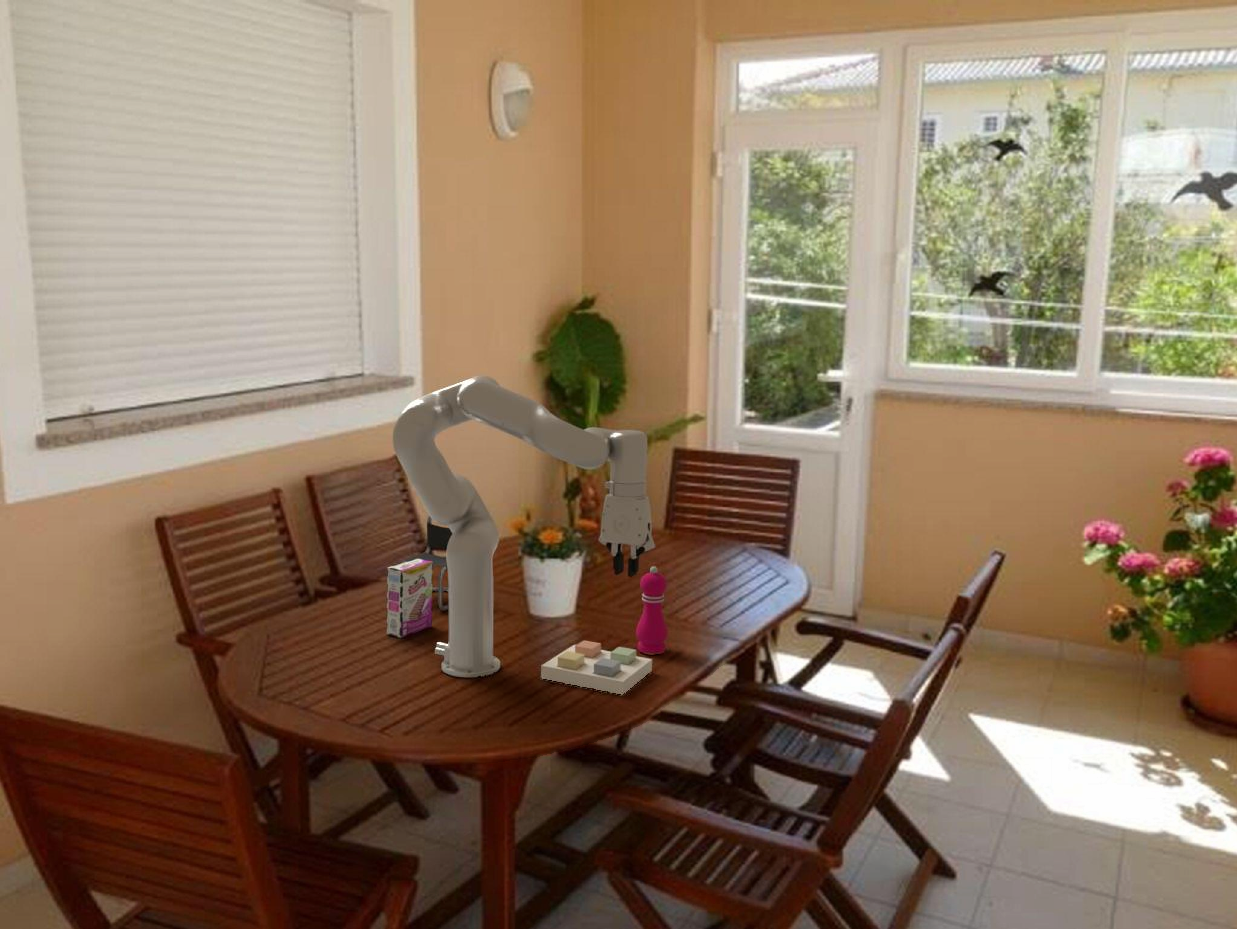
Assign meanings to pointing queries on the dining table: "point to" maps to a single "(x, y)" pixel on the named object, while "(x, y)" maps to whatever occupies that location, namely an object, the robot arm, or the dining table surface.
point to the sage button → (623, 655)
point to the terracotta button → (588, 649)
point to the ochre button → (571, 660)
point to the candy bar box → (409, 597)
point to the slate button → (607, 667)
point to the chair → (439, 540)
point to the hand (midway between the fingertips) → (625, 573)
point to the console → (591, 680)
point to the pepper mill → (652, 613)
